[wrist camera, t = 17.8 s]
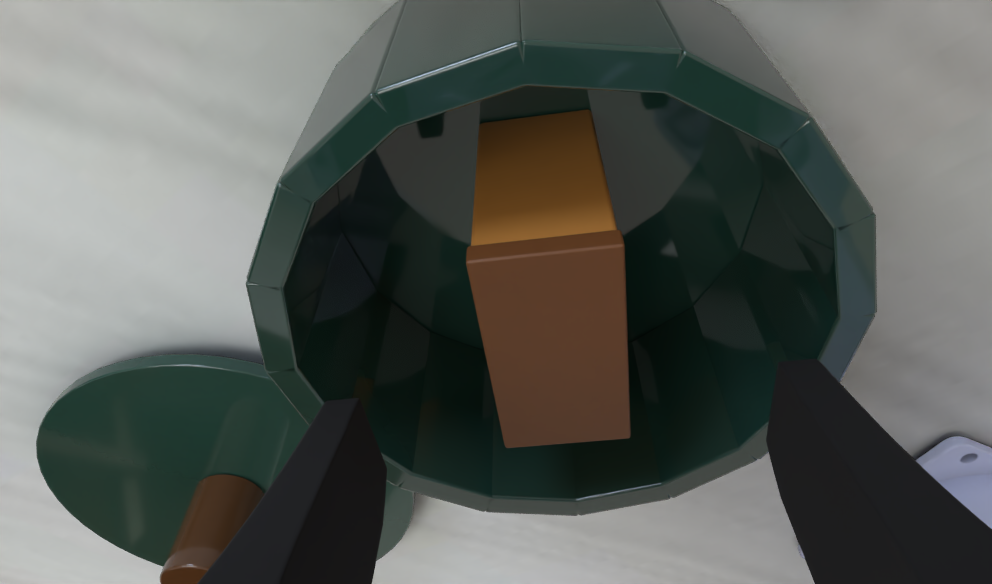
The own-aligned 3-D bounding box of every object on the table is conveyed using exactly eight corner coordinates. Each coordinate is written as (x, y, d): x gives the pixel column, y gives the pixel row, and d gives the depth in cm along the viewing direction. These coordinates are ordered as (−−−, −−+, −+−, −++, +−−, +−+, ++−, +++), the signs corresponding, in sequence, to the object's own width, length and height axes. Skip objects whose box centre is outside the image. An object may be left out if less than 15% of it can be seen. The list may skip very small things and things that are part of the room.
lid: (473, 415, 23) (467, 537, 20) (353, 587, 31) (334, 697, 27) (66, 284, 20) (-26, 403, 16) (42, 512, 27) (-26, 628, 24)
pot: (892, 94, 16) (1030, 230, 12) (619, 403, 23) (644, 559, 19) (415, -169, 13) (370, -114, 9) (263, 278, 20) (196, 432, 16)
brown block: (603, 279, 19) (630, 439, 15) (505, 289, 19) (504, 449, 15) (593, 105, 16) (625, 245, 12) (476, 120, 16) (465, 262, 12)
